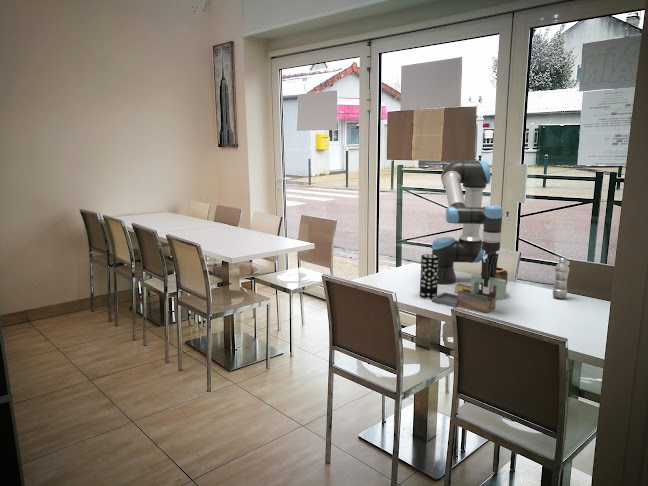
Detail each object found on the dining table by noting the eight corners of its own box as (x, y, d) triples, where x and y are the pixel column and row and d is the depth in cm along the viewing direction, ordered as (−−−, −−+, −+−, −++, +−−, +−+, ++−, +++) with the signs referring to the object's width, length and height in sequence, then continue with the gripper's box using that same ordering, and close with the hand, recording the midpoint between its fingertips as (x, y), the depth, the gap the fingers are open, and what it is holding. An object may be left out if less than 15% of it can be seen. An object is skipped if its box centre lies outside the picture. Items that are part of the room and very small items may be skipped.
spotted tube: (437, 299, 246) (439, 258, 243) (419, 298, 248) (421, 257, 244) (436, 294, 254) (438, 254, 251) (419, 293, 256) (421, 253, 252)
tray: (444, 296, 251) (444, 292, 251) (467, 301, 243) (467, 297, 243) (432, 301, 242) (432, 297, 242) (455, 307, 235) (455, 303, 234)
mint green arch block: (474, 291, 237) (475, 273, 236) (506, 297, 228) (507, 279, 226) (468, 294, 233) (469, 276, 231) (501, 301, 223) (502, 282, 222)
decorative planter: (493, 288, 264) (495, 262, 262) (515, 294, 255) (517, 267, 253) (470, 296, 252) (472, 268, 249) (492, 302, 243) (495, 273, 240)
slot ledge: (466, 301, 243) (467, 286, 241) (494, 308, 234) (496, 292, 232) (456, 306, 235) (457, 291, 234) (486, 313, 226) (487, 297, 225)
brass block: (458, 291, 241) (459, 283, 240) (466, 293, 239) (467, 285, 238) (454, 293, 238) (455, 285, 238) (462, 295, 236) (463, 286, 235)
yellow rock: (466, 293, 239) (467, 285, 238) (474, 295, 236) (475, 286, 235) (462, 295, 236) (463, 287, 235) (470, 297, 233) (471, 288, 232)
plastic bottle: (566, 297, 251) (570, 257, 247) (566, 300, 245) (570, 260, 241) (552, 295, 254) (556, 255, 250) (551, 299, 248) (555, 258, 244)
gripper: (490, 237, 234) (486, 287, 238) (475, 242, 222) (471, 295, 226) (506, 239, 229) (502, 290, 233) (492, 245, 217) (488, 298, 221)
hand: (487, 292), depth 230 cm, fingers closed on mint green arch block, 3 cm apart
